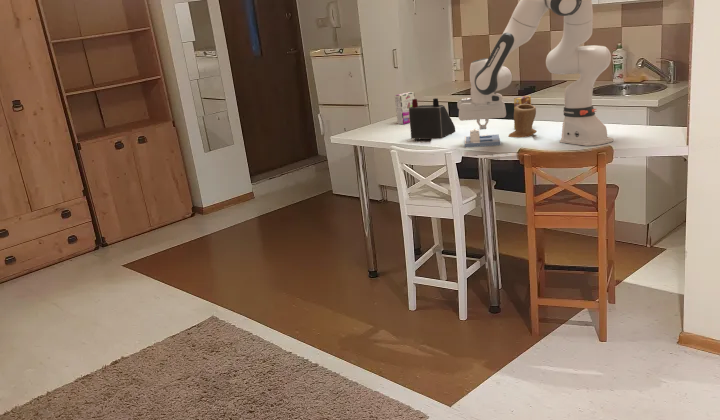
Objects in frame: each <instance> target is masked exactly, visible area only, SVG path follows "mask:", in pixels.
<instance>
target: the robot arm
mask: <svg viewBox="0 0 720 420" xmlns="http://www.w3.org/2000/svg"><path fill="white" fill-rule="evenodd" d="M549 10H551V11H552V13H554V14H556V15H557V16H561V17H563V31H562V38H561V40H560V42H559V43H558V44H557V45H556V46H555V47H554V48H552V49H551V50H550V51H549V52H548V54H547V55H546V58H545V67H546V69H547V70H548V72H549V73H551V74H555V75H575V74H578V75H579V78H578V79H576V80H575V81H573V82H571V83H569V84H568V85H567V86H566V87H565V89H564V107H563V116H564V119H563V122H562V129H561V137H560V140H559V143H562V144H563V143H564V144H570V145H579V146H586V147H590V146H598V145H604V144H605V145H606V144H608V143H611V142H614V138H613V137H610V136H608V130H607V126H606V125H605V124H604V123H603V122H602V121H601V120H600V119H599V118H598V117H597V116H596V112H597V108H594V105H593V90H594V86H595V83H596V81H597V79H598V77H599V76H600V75H601V74H602V73H603V72H604V71H605V70H607V69H608V67H610V64H611V61H612V54H611V52H610V49H609V48H608V47H606V46H605V45H596V44H594V45H584V46H583V44H584V43H586V42H587V41H588V40H589V39H591V37H592V35H593V29H594V28H593V27H594V25H593V23H594V10H593V2H592V0H519V1H518V3H517V5H516V6H515V8H514V10H513V12H512V13H511V17H510V18H509V21H508V23H507V25H506V27H505V29H504V30H503V33H502V34H501V36H500V37H499V39H498V41H496V44H495V46H494V47H493V50H492V51H491V53H490V54H489V57H488V58H486V57H485V58H480V59H476V60H473V61H472V62H471V63H470V66H469V82H470V85H471V86H470V98H461V99H459V100H458V101H457V103H456V105H457V109H458V119H459V121H461V122H463V121H476V123H477V124H478V127H479V131H481V130H486V129H487V125H488V123H489V121H490V120H489V119H502V118H503V119H504V118H506V116H507V110H506V104H505V102H504V100H503V95H502V94H501V93H498V92H499V91H501V90H505V89H506V88H509V86H511V84H512V82H513V74H512V71H511V70H510V68H508V67H507V66H505V65H504V64H505V62H506V60H507V59H508V58H509V56H510V54H511V53H512V52H514V51H515V50H516V49H518V48H519V47H521V46H522V45H524V44H526V43H528V42H529V41H530V40H531V38H533V36H534V34H535V33H536V32H537V29H538V28H539V25H540V23H541V20H542V17H544V15H545V14H546V13H547V12H548V11H549ZM581 45H582V46H581ZM481 120H485V123H484V124H481Z"/></svg>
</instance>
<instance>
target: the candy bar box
mask: <svg viewBox="0 0 720 420" xmlns="http://www.w3.org/2000/svg"><path fill="white" fill-rule="evenodd" d="M412 99H416V97H415V92H412V91H409V92H408V91H407V92H403V93H399V94H395V95H394V101H395V110H396V111H395V112H396V120H397V121H396V122H397V124H398V125H403V126H405V125H407V124H410V117H409V108H410V107H412Z"/></svg>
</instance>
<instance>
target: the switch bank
mask: <svg viewBox="0 0 720 420" xmlns="http://www.w3.org/2000/svg"><path fill="white" fill-rule="evenodd" d="M491 146H501V139H500V135H499V134H481V135H480V142H471V143H470V135H469V136H466V135H465V136H464V148H476V147H491Z"/></svg>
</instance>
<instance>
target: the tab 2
mask: <svg viewBox="0 0 720 420" xmlns="http://www.w3.org/2000/svg"><path fill="white" fill-rule="evenodd" d="M469 136H470V143H471V142H480V136H481V135H480V132H479V133H476V132H474V133H471V134H470V133H469Z"/></svg>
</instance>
